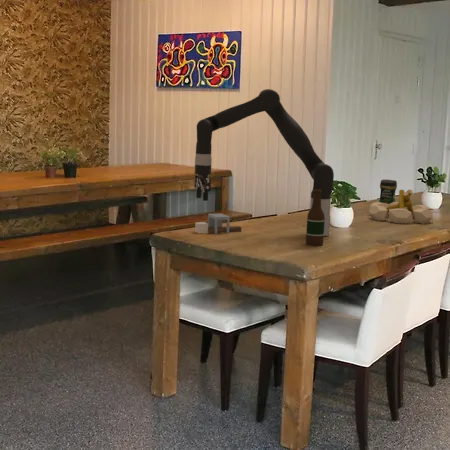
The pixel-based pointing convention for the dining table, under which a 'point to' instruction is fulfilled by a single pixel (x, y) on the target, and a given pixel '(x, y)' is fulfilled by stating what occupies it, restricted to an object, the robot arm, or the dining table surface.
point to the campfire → (401, 210)
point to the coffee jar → (387, 191)
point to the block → (201, 227)
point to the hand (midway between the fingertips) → (201, 199)
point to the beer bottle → (315, 221)
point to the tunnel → (218, 221)
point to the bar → (224, 229)
